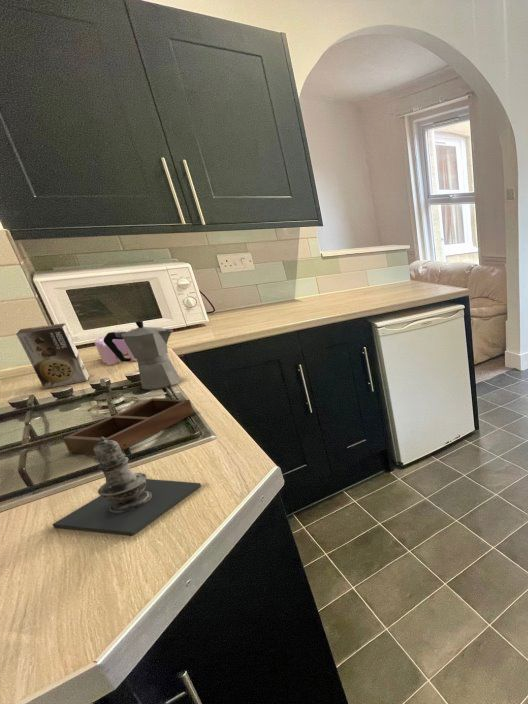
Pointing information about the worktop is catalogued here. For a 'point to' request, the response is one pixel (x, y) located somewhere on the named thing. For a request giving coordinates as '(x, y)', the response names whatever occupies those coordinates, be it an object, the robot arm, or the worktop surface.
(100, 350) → the clip
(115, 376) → the worktop surface
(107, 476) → the grey chess piece
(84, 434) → the brown shallow rectangular box
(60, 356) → the cookie mix box
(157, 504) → the mat
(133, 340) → the coffeepot
